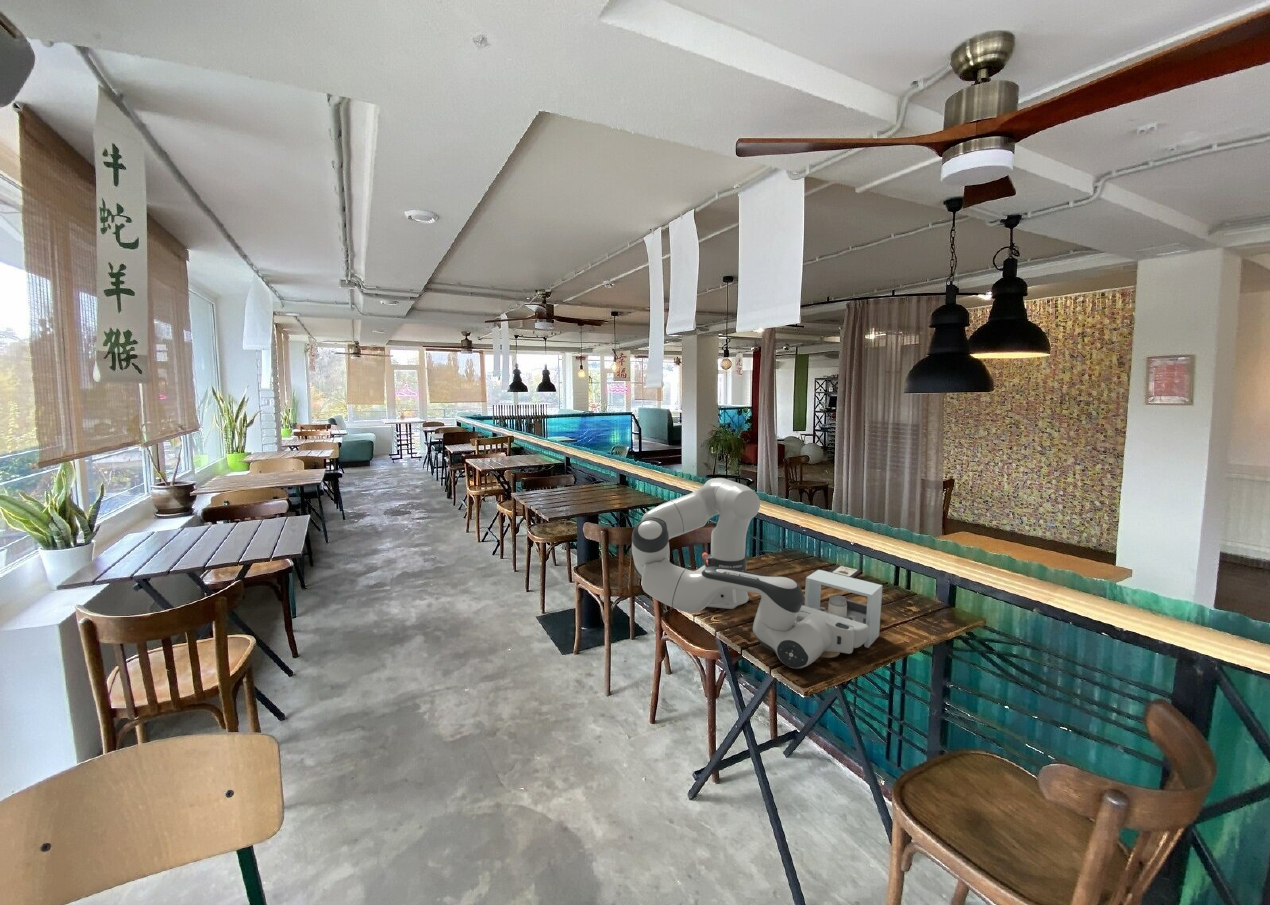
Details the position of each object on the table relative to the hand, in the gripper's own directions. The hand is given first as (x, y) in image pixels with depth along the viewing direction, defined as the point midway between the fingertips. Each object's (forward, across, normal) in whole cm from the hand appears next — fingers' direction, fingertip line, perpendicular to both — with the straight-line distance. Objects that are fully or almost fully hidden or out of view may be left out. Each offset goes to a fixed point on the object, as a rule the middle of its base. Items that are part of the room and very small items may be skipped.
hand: (838, 614), depth 142 cm
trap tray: (+14, 0, -6) cm, 15 cm away
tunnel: (+3, 0, -6) cm, 7 cm away
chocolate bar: (+47, -16, -7) cm, 50 cm away
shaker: (-1, 0, -6) cm, 6 cm away
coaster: (-11, 0, -6) cm, 12 cm away
